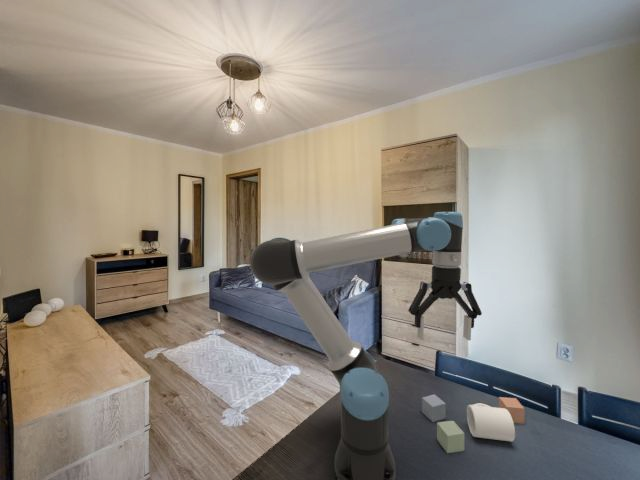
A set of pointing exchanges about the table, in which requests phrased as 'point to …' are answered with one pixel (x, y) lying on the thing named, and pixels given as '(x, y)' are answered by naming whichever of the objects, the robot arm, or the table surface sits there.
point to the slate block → (433, 408)
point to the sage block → (450, 436)
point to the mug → (490, 422)
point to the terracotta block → (513, 408)
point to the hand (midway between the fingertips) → (443, 338)
